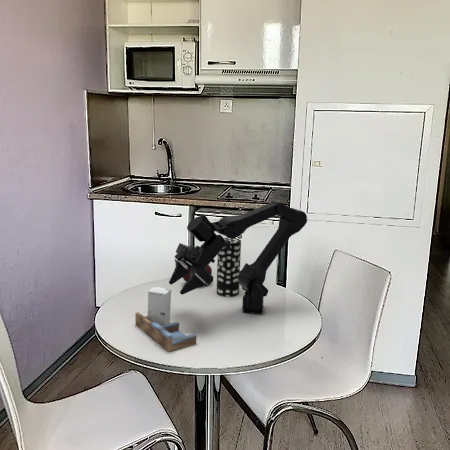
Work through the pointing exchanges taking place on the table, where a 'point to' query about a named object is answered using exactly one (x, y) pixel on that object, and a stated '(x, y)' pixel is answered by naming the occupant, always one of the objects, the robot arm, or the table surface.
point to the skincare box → (159, 305)
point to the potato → (194, 273)
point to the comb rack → (165, 333)
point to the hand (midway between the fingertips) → (175, 288)
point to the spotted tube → (229, 269)
